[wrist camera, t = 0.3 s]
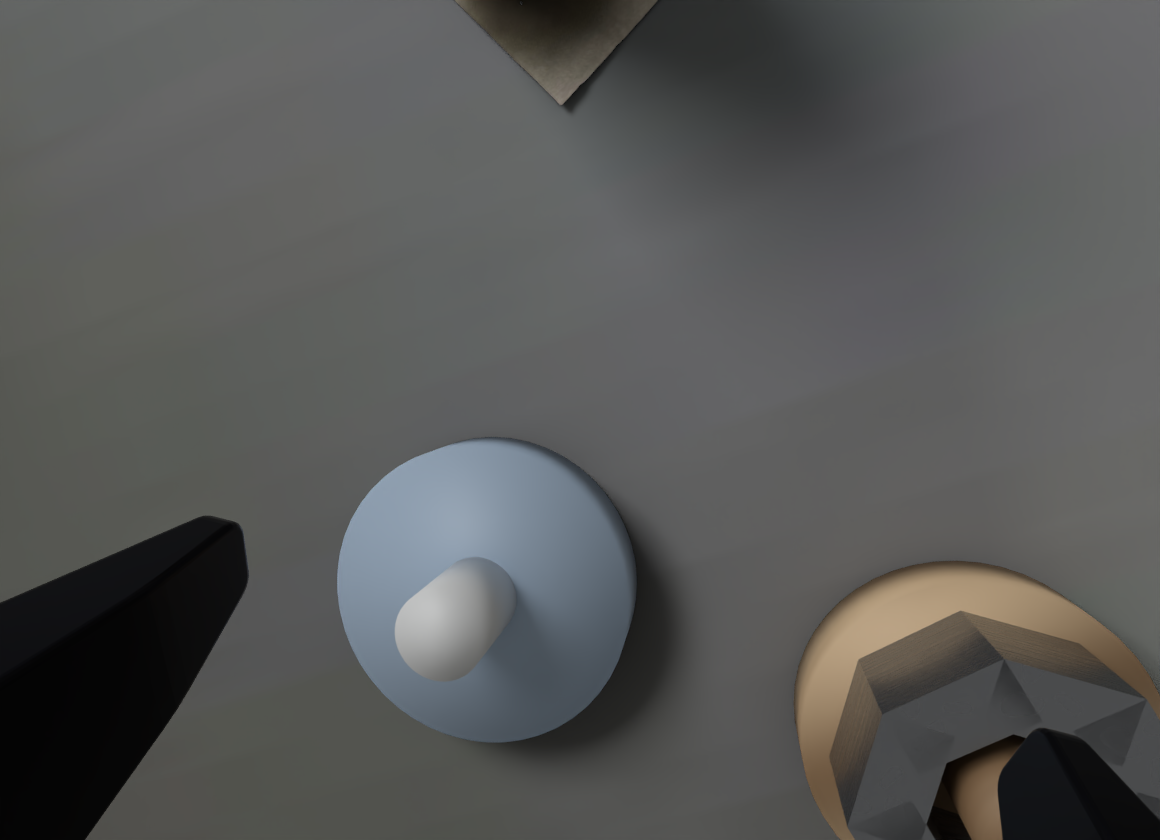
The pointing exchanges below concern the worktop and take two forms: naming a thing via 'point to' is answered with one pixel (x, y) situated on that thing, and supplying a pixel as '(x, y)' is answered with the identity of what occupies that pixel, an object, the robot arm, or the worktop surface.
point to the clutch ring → (975, 719)
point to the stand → (907, 608)
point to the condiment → (558, 35)
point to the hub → (488, 588)
